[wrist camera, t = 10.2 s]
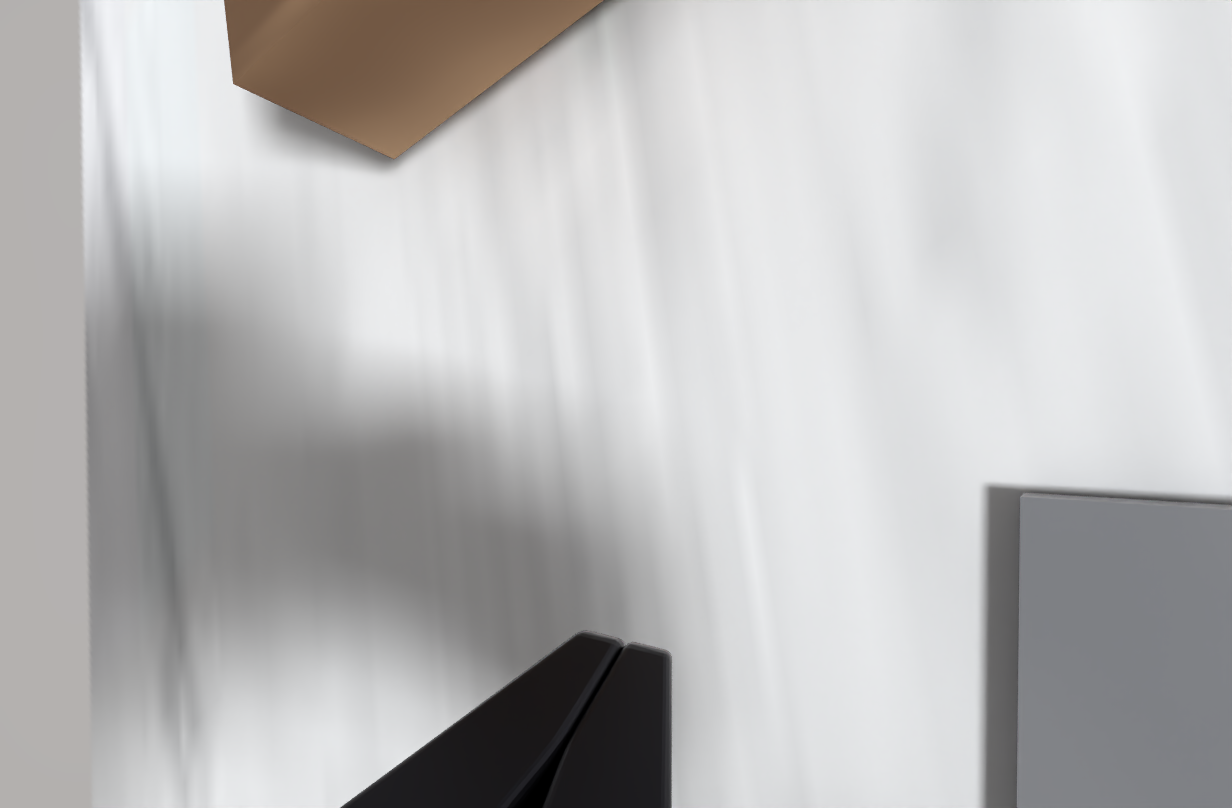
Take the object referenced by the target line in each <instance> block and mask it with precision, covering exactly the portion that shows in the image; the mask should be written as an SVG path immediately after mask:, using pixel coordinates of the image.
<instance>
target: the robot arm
mask: <svg viewBox="0 0 1232 808" xmlns="http://www.w3.org/2000/svg"><path fill="white" fill-rule="evenodd" d="M341 808H672V656H671V654H670V653H669V652H668V651H667V650H664V649H660V648H656V647H652V646H648V645H644V644H640V643H636V642H631V643H628V644H627V645H626V644H625V642H624V641H623V640H621V639H619V638H616V637H612V636H608V635H604V634H600V633H596V632H592V631H582V632H579V633H577V634H575V635H574V636H572V637H571V638H570V639H568V640H567V641H566V642H564V643H563V644H562V645H560V646H559V647H557V648H556V649H555V650H553V651H552V652H551V653H549V654H548V655H547V656H545V657H544V658H543V659H541V660H540V661H538V662H537V663H536V664H534V665H533V666H532V667H530V668H529V669H528V670H526V671H525V672H524V673H522V674H521V675H519V676H518V677H517V678H515V679H514V680H513V681H511V682H510V683H509V684H507V685H506V686H505V687H503V688H502V689H501V690H499V691H498V692H496V693H495V694H494V695H492V696H491V697H490V698H488V699H487V700H486V701H484V702H483V703H482V704H480V705H479V706H477V707H476V708H475V709H473V710H472V711H471V712H469V713H468V714H467V715H465V716H464V717H463V718H461V719H460V720H458V721H457V722H456V723H454V724H453V725H452V726H450V727H449V728H448V729H446V730H445V731H444V732H442V733H441V734H439V735H438V736H437V737H435V738H434V739H433V740H431V741H430V742H429V743H427V744H426V745H425V746H423V747H422V748H421V749H419V750H418V751H416V752H415V753H414V754H412V755H411V756H410V757H408V758H407V759H406V760H404V761H403V762H402V763H400V764H399V765H397V766H396V767H395V768H393V769H392V770H391V771H389V772H388V773H387V774H385V775H384V776H383V777H381V778H380V779H378V780H377V781H376V782H374V783H373V784H372V785H370V786H369V787H368V788H366V789H365V790H364V791H362V792H361V793H359V794H358V795H357V796H355V797H354V798H353V799H351V800H350V801H349V802H347V803H346V804H345V805H343V806H342V807H341Z"/></svg>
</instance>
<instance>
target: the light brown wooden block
mask: <svg viewBox="0 0 1232 808" xmlns="http://www.w3.org/2000/svg"><path fill="white" fill-rule="evenodd" d="M602 1H603V0H224V3H225V12H226V22H227V31H228V40H229V49H230V58H231V68H232V77H233V84H235V85H237V86H239V87H241V88H243V89H245V90H247V91H249V92H252V93H254V94H256V95H258V96H260V97H262V98H264V99H267V100H269V101H271V102H273V103H275V104H277V105H279V106H282V107H284V108H286V109H288V110H290V111H292V112H294V113H296V114H299V115H301V116H303V117H305V118H307V119H309V120H311V121H314V122H316V123H318V124H320V125H322V126H324V127H326V128H329V129H331V130H333V131H335V132H337V133H339V134H341V135H343V136H346V137H348V138H350V139H352V140H354V141H356V142H358V143H361V144H363V145H365V146H367V147H369V148H371V149H373V150H376V151H378V152H380V153H382V154H384V155H386V156H388V157H391V158H393V159H395V158H397V157H398V156H399V155H401V154H402V153H403V152H405V151H406V150H407V149H409V148H410V147H411V146H412V145H414V144H415V143H416V142H418V141H419V140H420V139H422V138H423V137H424V136H426V135H427V134H428V133H430V132H431V131H432V130H434V129H435V128H436V127H437V126H439V125H440V124H441V123H443V122H444V121H445V120H447V119H448V118H449V117H451V116H452V115H453V114H455V113H456V112H457V111H459V110H460V109H461V108H463V107H464V106H465V105H466V104H468V103H469V102H470V101H472V100H473V99H474V98H476V97H477V96H478V95H480V94H481V93H482V92H484V91H485V90H486V89H488V88H489V87H490V86H491V85H493V84H494V83H495V82H497V81H498V80H499V79H501V78H502V77H503V76H505V75H506V74H507V73H509V72H510V71H511V70H513V69H514V68H515V67H516V66H518V65H519V64H520V63H522V62H523V61H524V60H526V59H527V58H528V57H530V56H531V55H532V54H534V53H535V52H536V51H538V50H539V49H540V48H541V47H543V46H544V45H545V44H547V43H548V42H549V41H551V40H552V39H553V38H555V37H556V36H557V35H559V34H560V33H561V32H563V31H564V30H565V29H566V28H568V27H569V26H570V25H572V24H573V23H574V22H576V21H577V20H578V19H580V18H581V17H582V16H584V15H585V14H586V13H588V12H589V11H590V10H591V9H593V8H594V7H595V6H597V5H598V4H599V3H601V2H602Z"/></svg>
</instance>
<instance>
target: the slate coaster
mask: <svg viewBox="0 0 1232 808" xmlns="http://www.w3.org/2000/svg"><path fill="white" fill-rule="evenodd" d="M1017 808H1232V505H1225V504H1208V503H1192V502H1175V501H1158V500H1142V499H1125V498H1108V497H1091V496H1075V495H1058V494H1041V493H1024V494H1023V495H1022V496H1020V548H1019V640H1018V732H1017Z"/></svg>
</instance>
